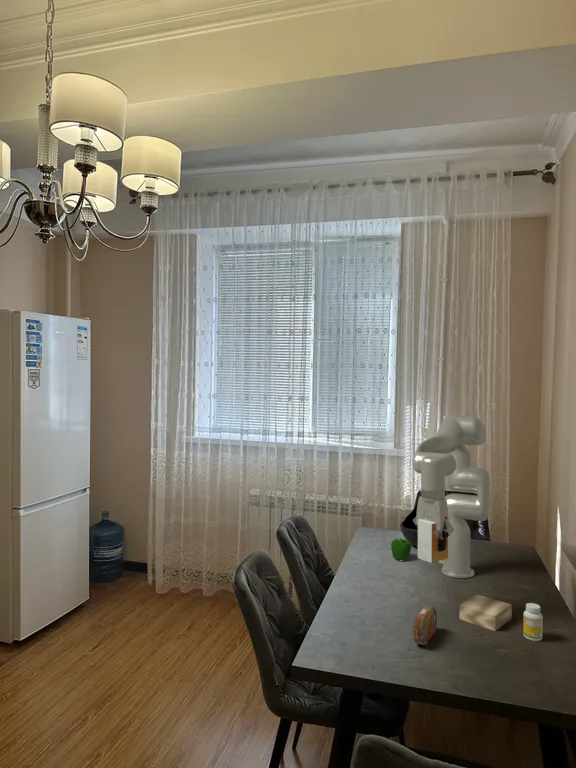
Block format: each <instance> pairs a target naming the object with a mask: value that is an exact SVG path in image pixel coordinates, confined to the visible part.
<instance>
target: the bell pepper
mask: <svg viewBox="0 0 576 768" xmlns="http://www.w3.org/2000/svg"><path fill="white" fill-rule="evenodd" d="M390 549H391V554H392V558H396V559H395V560H397V559H398V560H405V561H407V560H408V559H409V558H410V556H411V555H410V554H411V552H412V551H411V550H412V544H411V543H410V542H409V541H407V540H406V539H403V537H402V536H400V537H399V539H397V538H395V539H394V540H392V541H391V543H390ZM398 560H397V561H398Z"/></svg>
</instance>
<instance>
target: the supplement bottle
mask: <svg viewBox="0 0 576 768" xmlns="http://www.w3.org/2000/svg"><path fill="white" fill-rule="evenodd" d="M522 619H523V625H522V626H523V636H524V637H525V639H527V640H530V641H534V642H539V641H542V639H543V630H544V629H543V628H544V626H543V621H544V617H543V614H542V613H541V606H540V605H539V604H538V603H534V602H528V603H526V604H525V610H524V612H523V618H522Z"/></svg>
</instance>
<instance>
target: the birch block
mask: <svg viewBox="0 0 576 768" xmlns="http://www.w3.org/2000/svg"><path fill="white" fill-rule="evenodd" d="M512 609H513V608H512V604H511V603H508V602H504V601H502V600H497V599H493V598H490V597H487V596H484V595H481V594H478V593H477V594H475V595H473V596H472V597H470V598H468V599H467V600H465V601H463V602H462V603H460V604H459V610H458V611H459V617H458V618H459V620H462V621H463V622H468V623H469V624H473V625H477V626H479V627H482V628H485V629H488V630H491V631H494V632H496V631H497V630H498V629H500V628H501V627H502V626H504V625H505V624H507V623H508V622H509V621H511V620H513V619H512V618H513V617H512V614H513V613H512V612H513V611H512Z"/></svg>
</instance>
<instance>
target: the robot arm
mask: <svg viewBox="0 0 576 768" xmlns="http://www.w3.org/2000/svg"><path fill="white" fill-rule="evenodd" d="M486 441H487V430H486V427H485V425H484V424H483V422H482V420H481V419H480V418H478V417H476V416H473V415H448V416H445V417H444V418H443V419H442V421H441V423H440V425H439V428H438V429H437V432H436V434H435V435H433V436H431V437H429V438H427V439H424V440H423V441H421V442H420V443H419V444H418V446H417V448H416V450H415V452H414V455H413V457H412V469H413V470H414V471H415V472H416V473H417V474H420V480H421V481H420V482H421V483H420V486H421V487H419V490H418V491H419V493H420V496H419V497H418V501H417V504H416V506H417V516H416V517H415V518H414V519H413V522H414V523H415V525H416V527H417V529H418V520H419V519H421V520H425V521H429V522H433V523H435V531H438V534H439V537H440V539H438V551H440V552H441V551H444V550H446V538H448V559H444V560H440V561H437V563H438V564H442V567H441V573H442V574H443V575H444V576H446V577H451V578H454V579H470V578H473V577H474V576H475V569H474V568H471V529H470V526H469V525H468V523H467V521H466V520H470V521H478V522H479V521H480V522H481V521H482V522H484V521H486V520H488V518H489V516H490V509H491V508H490V506H491V505H490V504H491V503H490V501H491V479H490V478H491V477H490V474H489V471H488V470H486V469H485V468H482V467H473V466H471V458H472V457H471V453H470V451H469V449H468V448H467V447H466V446H483V444H485V443H486ZM445 477H447V483H448V486H449V488H450V489H452V490H454V491H462V492H473V493H476V495H473V494H471V495H470V494H465V493H464V494H463V493H448V494H446V495H445V492H446V490H445V489H446V488H445V487H446V484H445V482H446V481H445V480H446V479H445ZM444 525H445V527H444ZM445 529H448V530H447V532H446V530H445ZM442 531H443V534H442Z"/></svg>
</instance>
